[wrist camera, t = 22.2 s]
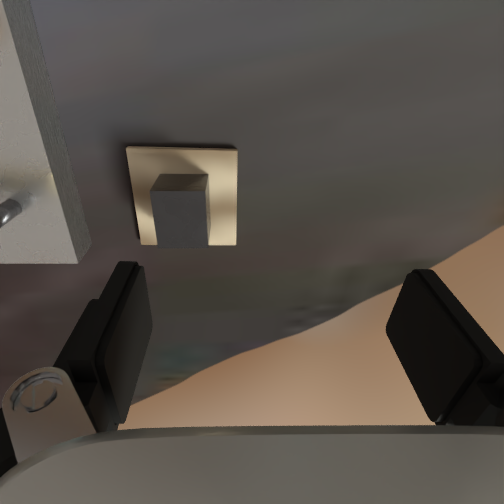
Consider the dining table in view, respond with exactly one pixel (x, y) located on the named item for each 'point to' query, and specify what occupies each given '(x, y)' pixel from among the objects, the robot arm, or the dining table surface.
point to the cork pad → (186, 162)
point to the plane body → (33, 153)
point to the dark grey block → (181, 210)
